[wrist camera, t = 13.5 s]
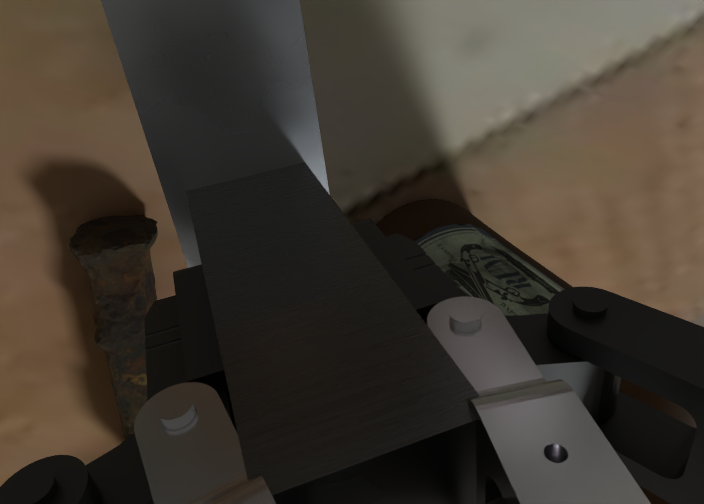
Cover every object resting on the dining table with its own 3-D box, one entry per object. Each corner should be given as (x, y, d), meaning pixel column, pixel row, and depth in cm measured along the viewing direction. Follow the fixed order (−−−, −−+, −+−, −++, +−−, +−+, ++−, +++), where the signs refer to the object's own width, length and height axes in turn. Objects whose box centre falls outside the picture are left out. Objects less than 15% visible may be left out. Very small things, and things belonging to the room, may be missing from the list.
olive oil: (504, 276, 41) (880, 616, 21) (380, 353, 41) (641, 780, 20) (461, 157, 35) (932, 474, 15) (315, 246, 35) (593, 702, 14)
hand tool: (72, 211, 29) (64, 254, 25) (155, 207, 30) (158, 247, 27) (113, 469, 38) (111, 530, 34) (175, 457, 39) (180, 514, 35)
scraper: (265, -45, 14) (555, 13, 5) (330, 319, 21) (510, 672, 11) (104, -20, 14) (38, 120, 4) (222, 353, 20) (313, 768, 10)
